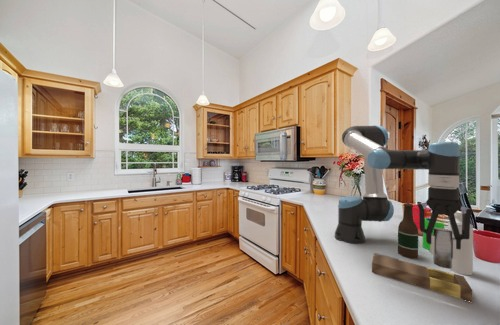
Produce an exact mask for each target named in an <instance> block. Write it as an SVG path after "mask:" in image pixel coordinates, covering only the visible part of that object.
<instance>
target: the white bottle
mask: <svg viewBox="0 0 500 325" xmlns="http://www.w3.org/2000/svg"><path fill="white" fill-rule="evenodd" d="M462 214H463V213H462V212H461V210H458V211H457V212H456V213H454V216H455V220H456V223H457V226H458V230H459V233H460V234H462ZM447 226H448V227H447V228H448V230H451V231H452V227H451V224H450V221H448V225H447ZM452 237H454V234H453V231H452ZM473 256H474V225H473V224H471V223H470V236H469V239H462V240H461V249H460V250H459V249H456V260H455V259H452V268H450V269H449V270H450V271H452V272H454V273H457V274H459V275H462V276H472V275H473V269H474V268H473V265H474V264H473V262H474V261H473V260H474V258H473Z"/></svg>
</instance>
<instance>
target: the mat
mask: <svg viewBox="0 0 500 325" xmlns="http://www.w3.org/2000/svg"><path fill="white" fill-rule="evenodd" d="M374 254H376V255H380V256H384V257H388V258H392V259H396V260H400V259H399V258H396V257H394V256H393V257H392V256H388V255H386V254H385V255H384V254H380V253H376V252H374V253H373V255H374Z"/></svg>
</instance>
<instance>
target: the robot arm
mask: <svg viewBox="0 0 500 325" xmlns="http://www.w3.org/2000/svg"><path fill="white" fill-rule="evenodd" d="M341 141H342V143H343V145H345V146H346V147H348V148H349V149H350V148H352V149H353V150H355V151H356V152H358V153H359V154H361V155H362V156H363V166H364V167H363V168H364V187H365V193H364V195H362V197H361V196H353V195H351V196H350V195H349V196H343V197H340V198H339V199H338V205H337V208H338V215H337V217H338V218H337V221H338V223H337V226H336V228H335V230H334V237H335V239H337V240H338V241H340V242H342V243H348V244H353V245H362V244H364V243H366V236H365V233H364V230H363V227H362V226H363V225H362V224H363V221H364V222H379V223H380V222H382V223H383V222H389V221H390V220H391V219H392V218H393V216H394V213H395V212H394V211H395V207H394V205H393V202H392V201H390V200H389V199H388V196H387V195H386V194H385V192H384V191H385V190H384V179H383V178H384V177H383V176H384V175H383V170H428V173H427V174H428V177H427V178H428V180H427V181H428V182H427V184H428V189H427V190H428V191H427V200H426V202H418V203H417V204H416V205H417V208H418V210H419V212H418V214H419V216H418V217H419V218H418V220H419V230H420V232H422V233H423V232H424V233H426V241H427V243H428V244H430V250H429V252H430V255H431V256H434V248H435V236H434V234H432V232H433V229H434V226H435V223H436V220H437V219H438V217H439V216H442V215H443V216H447V218H448V220H449V221H450V224H451V227H452V231H453V234H454V237H452V259H455V260H456V249H459V250H460V249H461V240H462V239H469V236H470V224H471V216H472V214H473V212H474V210H473V209H471V208H469V207H465V206H462V204H461V202H460V190H459V189H458V188H460V161H461V160H460V158H461V157H460V156H461V152H460V145H459V143H457V142H455V141H441V142H432V143H430V144H429V145H428V149H422V150H414V149H413V150H412V149H406V150H404V149H403V150H402V149H400V150H399V149H388V148H387V147H385V146H386V145H387V144H388V142H389V132H388V130H387V129H386V128H385V127H384V126H381V125H353V126H349V127H348V128H346V129H345V130H344V131H343V133H342V135H341ZM427 206H428V208H430V210H431V211H432V212H431V213H432V215H431V218H430V217H429V218H430V221H429V224H428V227H427V229H425V218H426V216H425V212H426V211H425V210H427ZM457 211H461V212H462V213H463V214H462V234H460V233H459V230H458V226H457V223H456V220H455V216H454V213H456V212H457ZM449 221H448V222H449Z"/></svg>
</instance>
